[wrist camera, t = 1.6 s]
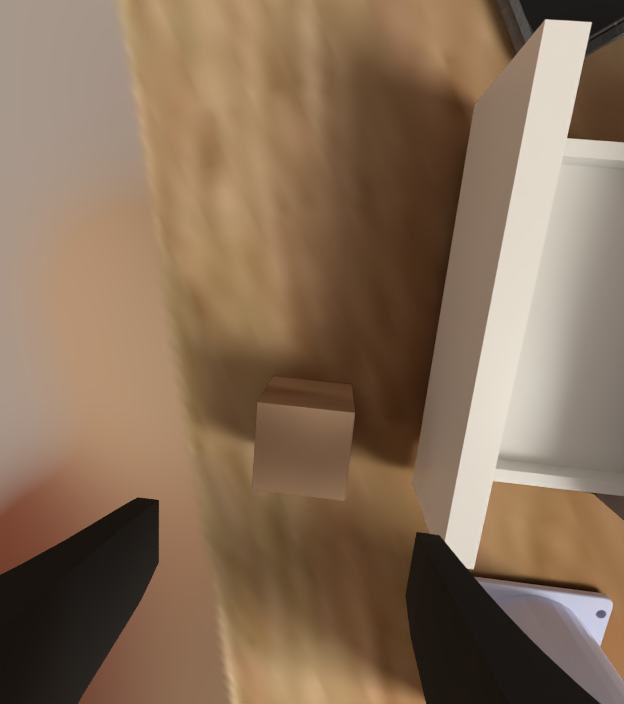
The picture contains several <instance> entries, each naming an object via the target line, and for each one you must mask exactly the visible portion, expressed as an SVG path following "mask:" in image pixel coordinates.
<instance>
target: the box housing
mask: <svg viewBox="0 0 624 704" xmlns="http://www.w3.org/2000/svg"><path fill="white" fill-rule="evenodd" d="M596 496H597V497H598V498H599V499H600V500H601V501H602V502H603V503H605V504H606V505H607V506H608V507H609V508H610V509H611V510H612V511H614V512H615V513H616V514H617V515H618V516H619V517H620V518H622V519H623V520H624V496H618V495H609V494H600V493H596Z"/></svg>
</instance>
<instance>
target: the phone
mask: <svg viewBox="0 0 624 704" xmlns="http://www.w3.org/2000/svg"><path fill="white" fill-rule="evenodd" d="M496 2H497V5H498V7H499V10H500V12H501V15H502V17H503V20H504V23H505V25H506V28H507V30H508V33H509V35H510V38H511V40H512V43H513V46H514V48H515V51H516V53H518V52H519V51H520V49H521V48H522V47H523V46H524V45H525V43H526V42H527V41H528V40H529V38H530V37H531V36H532V35H533V34H534V32H535V31H536V30H537V29H538V28H539V26H540V25H541V24H542V23H543V22H544V20H545V19H548V20H565V21H581V22H592V24H591V29H590V34H589V38H588V43H587V48H586V52H585V57H586V56H588V55H589V54H591V53H593V52H595V51H596V50H598V49H600V48H602V47H603V46H605V45H607V44H609V43H610V42H612V41H614V40H616V39H617V38H619V37H621V36H623V35H624V0H496Z"/></svg>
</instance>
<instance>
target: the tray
mask: <svg viewBox="0 0 624 704" xmlns="http://www.w3.org/2000/svg"><path fill="white" fill-rule="evenodd" d="M591 24H592V22H581V21H565V20H548V19H545V20H544V22H543V23H542V24H541V25H540V26H539V28H538V29H537V30H536V31H535V32H534V34H533V35H532V36H531V37H530V38H529V40H528V41H527V42H526V43H525V45H524V46H523V47H522V48H521V49H520V51H519V52H518V53H517V54H516V55H515V57H514V58H513V59H512V60H511V61H510V63H509V64H508V65H507V66H506V67H505V69H504V70H503V71H502V72H501V74H500V75H499V76H498V77H497V78H496V80H495V81H494V82H493V83H492V84H491V86H490V87H489V88H488V89H487V90H486V92H485V93H484V94H483V95H482V96H481V98H480V99H479V100H478V101H477V103H476V104H475V105H474V111H473V117H472V123H471V129H470V135H469V141H468V147H467V153H466V159H465V165H464V171H463V178H462V184H461V190H460V196H459V202H458V208H457V214H456V220H455V226H454V232H453V238H452V244H451V250H450V257H449V263H448V269H447V275H446V281H445V287H444V293H443V299H442V305H441V311H440V317H439V323H438V329H437V336H436V342H435V348H434V354H433V360H432V366H431V372H430V378H429V384H428V390H427V396H426V402H425V408H424V414H423V421H422V427H421V433H420V439H419V445H418V451H417V457H416V463H415V469H414V475H413V481H412V484H413V487H414V490H415V493H416V496H417V499H418V502H419V505H420V507H421V510H422V513H423V516H424V519H425V522H426V525H427V528H428V531H429V534H435V535H440V536H441V538H442V539H443V540H444V541H445V542H446V544H447V545H448V546H449V547H450V549H451V550H452V551H453V552H454V553H455V555H456V556H457V557H458V558H459V560H460V561H461V562H462V563H463V564H464V566H465V567H466V568H467V569H474V566H475V561H476V557H477V552H478V547H479V543H480V538H481V534H482V529H483V524H484V520H485V515H486V510H487V506H488V501H489V497H490V492H491V487H492V483H493V481H498V482H506V483H515V484H523V485H532V486H541V487H549V488H558V489H566V490H575V491H583V492H592V493H600V494H609V495H618V496H624V142H611V141H597V140H584V139H570V138H567V135H568V131H569V126H570V122H571V117H572V112H573V108H574V103H575V98H576V94H577V89H578V85H579V80H580V75H581V71H582V66H583V61H584V57H585V52H586V48H587V43H588V38H589V34H590V29H591Z"/></svg>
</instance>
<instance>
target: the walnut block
mask: <svg viewBox="0 0 624 704" xmlns="http://www.w3.org/2000/svg"><path fill="white" fill-rule="evenodd" d="M354 419H355V407H354V398H353V390H352V384H344V383H334V382H325V381H315V380H306V379H296V378H287V377H277V376H273V377H272V379H271V381H270V382H269V384H268V386H267V387H266V389H265V390H264V392H263V394H262V395H261V397H260V399H259V400H258V402H257V415H256V432H255V448H254V465H253V481H252V490H257V491H265V492H274V493H282V494H291V495H299V496H307V497H316V498H324V499H333V500H341V501H345V494H346V485H347V477H348V469H349V460H350V452H351V444H352V436H353V427H354Z"/></svg>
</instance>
